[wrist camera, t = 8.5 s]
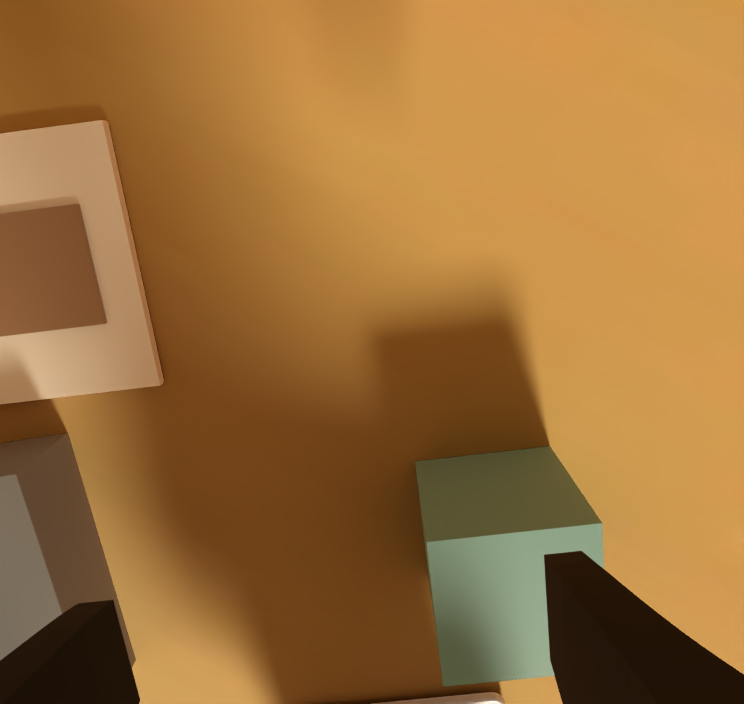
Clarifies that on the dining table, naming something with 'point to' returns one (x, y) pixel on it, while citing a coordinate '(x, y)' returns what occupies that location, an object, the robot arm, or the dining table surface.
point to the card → (69, 269)
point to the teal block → (498, 557)
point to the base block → (46, 541)
